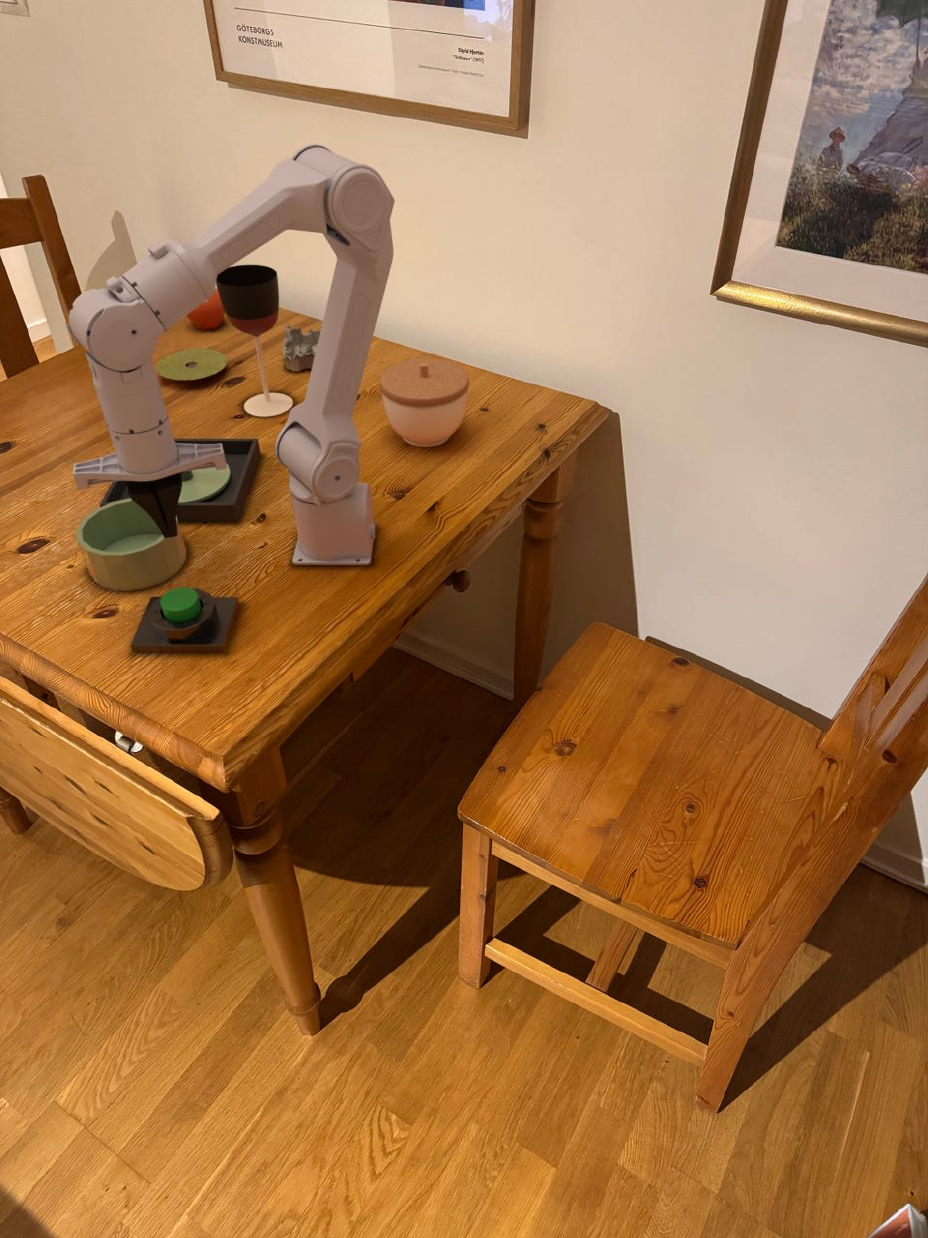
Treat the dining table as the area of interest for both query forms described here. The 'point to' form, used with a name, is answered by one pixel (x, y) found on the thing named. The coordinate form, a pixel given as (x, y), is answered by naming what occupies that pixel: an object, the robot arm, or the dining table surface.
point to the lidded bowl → (424, 399)
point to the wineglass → (254, 321)
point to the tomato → (208, 313)
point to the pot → (128, 547)
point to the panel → (187, 627)
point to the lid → (203, 483)
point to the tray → (229, 500)
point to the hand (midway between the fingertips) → (170, 531)
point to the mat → (191, 364)
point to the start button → (180, 604)
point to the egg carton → (300, 348)
